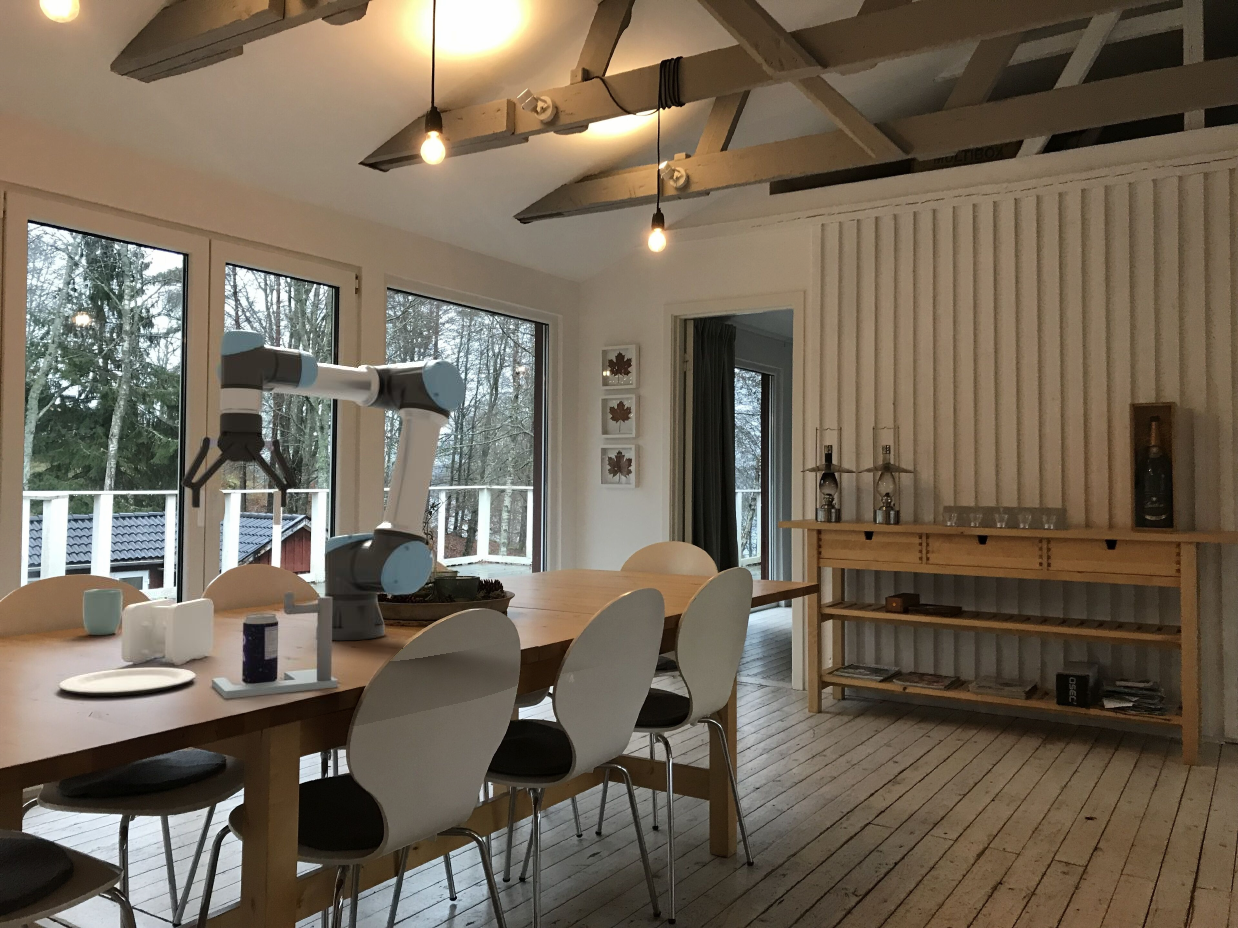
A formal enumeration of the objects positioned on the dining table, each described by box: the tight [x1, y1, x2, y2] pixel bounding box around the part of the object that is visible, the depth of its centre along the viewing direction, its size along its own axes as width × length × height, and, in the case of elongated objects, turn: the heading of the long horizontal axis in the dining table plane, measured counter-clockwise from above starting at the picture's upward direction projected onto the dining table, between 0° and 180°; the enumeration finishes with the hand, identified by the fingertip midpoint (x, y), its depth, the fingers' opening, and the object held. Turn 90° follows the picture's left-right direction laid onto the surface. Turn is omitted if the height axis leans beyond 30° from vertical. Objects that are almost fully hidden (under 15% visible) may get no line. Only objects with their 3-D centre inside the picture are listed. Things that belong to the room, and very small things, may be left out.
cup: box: [82, 588, 123, 636], centre depth 222 cm, size 8×8×10 cm
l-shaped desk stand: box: [211, 590, 339, 700], centre depth 165 cm, size 18×12×17 cm, turn 122°
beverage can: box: [241, 612, 279, 685], centre depth 166 cm, size 6×6×12 cm
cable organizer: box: [121, 598, 215, 666], centre depth 189 cm, size 15×11×12 cm
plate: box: [58, 667, 197, 697], centre depth 165 cm, size 21×21×2 cm
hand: (239, 525), depth 182 cm, fingers open, 13 cm apart
